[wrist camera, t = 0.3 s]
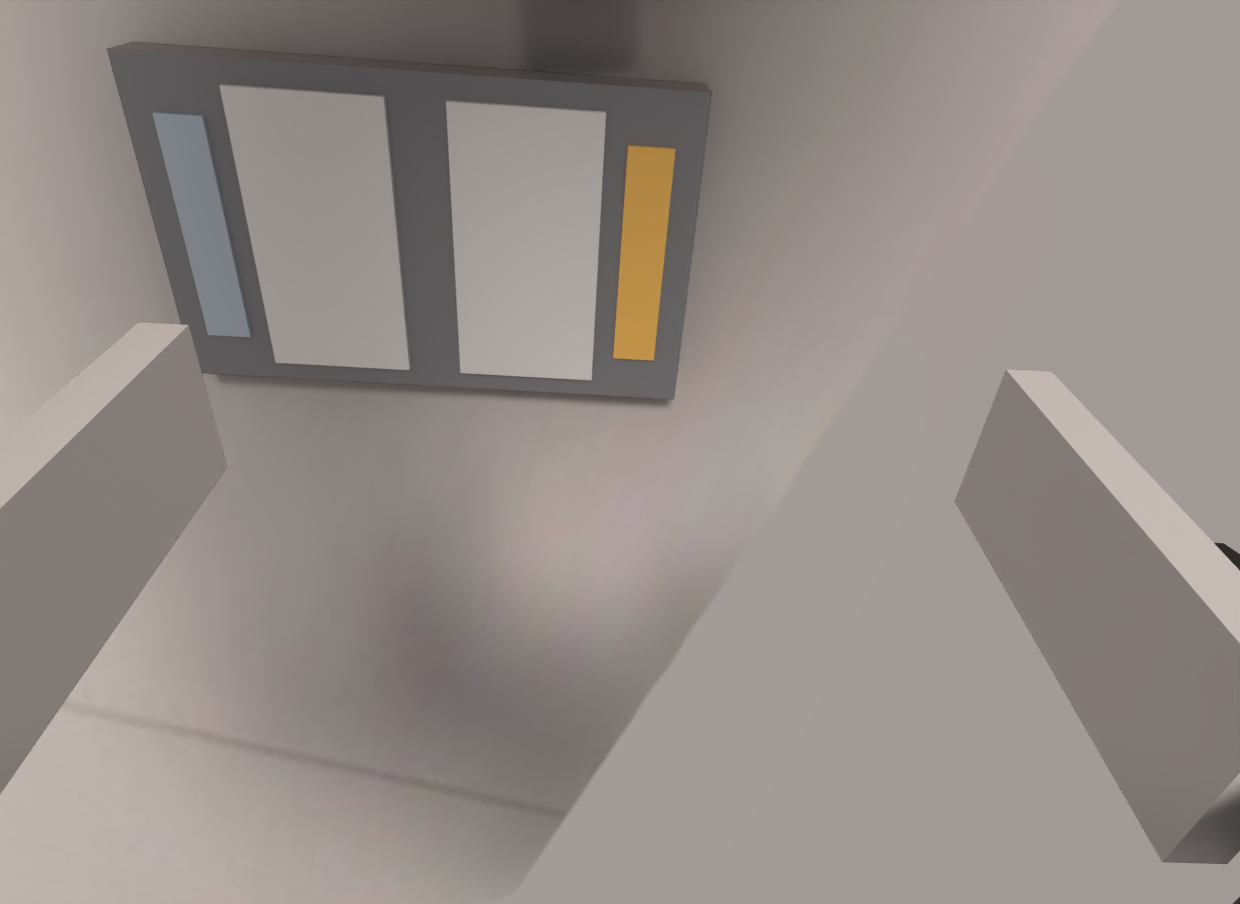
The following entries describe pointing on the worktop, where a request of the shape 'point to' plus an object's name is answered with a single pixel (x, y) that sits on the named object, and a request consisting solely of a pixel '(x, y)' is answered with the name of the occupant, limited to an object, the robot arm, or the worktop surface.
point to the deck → (420, 217)
